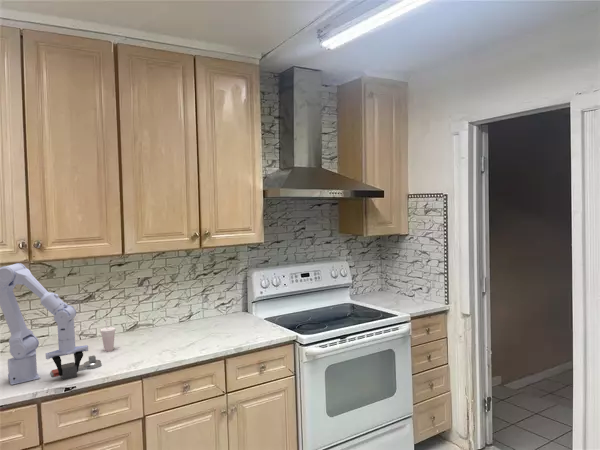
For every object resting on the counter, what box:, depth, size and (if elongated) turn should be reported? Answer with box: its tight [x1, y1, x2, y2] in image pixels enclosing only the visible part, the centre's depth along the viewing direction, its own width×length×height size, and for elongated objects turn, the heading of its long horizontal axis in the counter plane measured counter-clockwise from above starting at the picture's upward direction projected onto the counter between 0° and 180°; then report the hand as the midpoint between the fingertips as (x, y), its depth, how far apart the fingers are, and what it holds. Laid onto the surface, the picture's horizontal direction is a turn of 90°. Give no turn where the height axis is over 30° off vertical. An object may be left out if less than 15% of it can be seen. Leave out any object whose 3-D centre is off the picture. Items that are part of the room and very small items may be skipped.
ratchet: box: [50, 355, 102, 378], centre depth 185 cm, size 18×6×4 cm, turn 127°
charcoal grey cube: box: [59, 361, 78, 381], centre depth 177 cm, size 5×5×4 cm
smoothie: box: [100, 319, 116, 353], centre depth 208 cm, size 6×6×14 cm
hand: (68, 373), depth 177 cm, fingers closed on charcoal grey cube, 5 cm apart
